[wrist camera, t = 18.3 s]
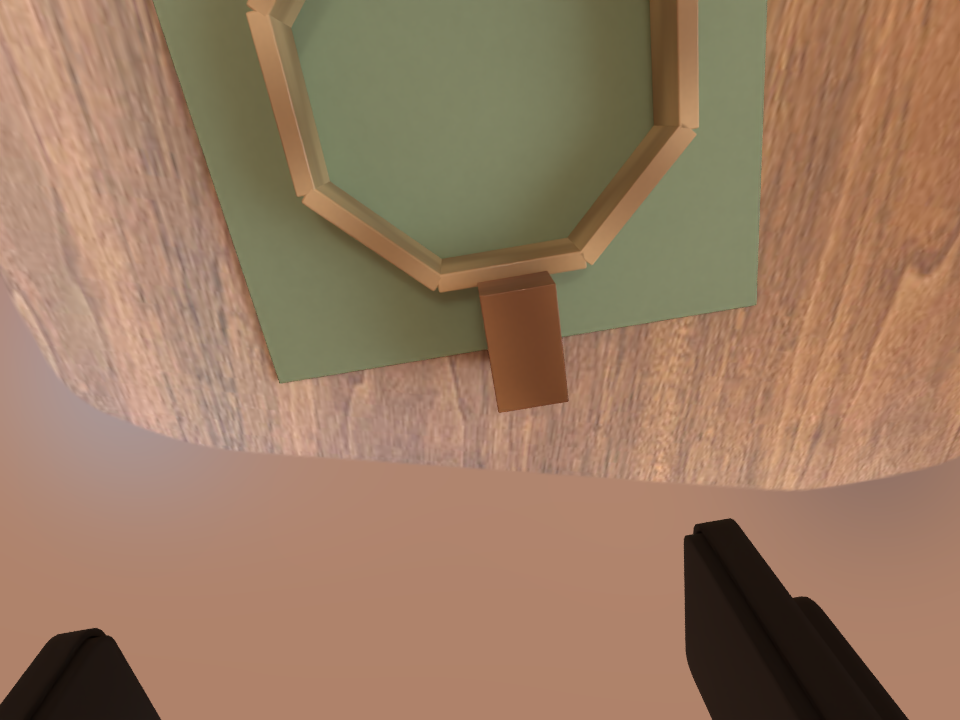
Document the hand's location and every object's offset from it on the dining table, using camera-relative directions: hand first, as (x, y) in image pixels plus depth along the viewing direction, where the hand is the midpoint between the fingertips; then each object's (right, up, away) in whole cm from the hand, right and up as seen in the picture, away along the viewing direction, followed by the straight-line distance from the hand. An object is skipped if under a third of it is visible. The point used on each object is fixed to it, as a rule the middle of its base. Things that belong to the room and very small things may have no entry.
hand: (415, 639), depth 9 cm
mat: (+1, +16, +14) cm, 22 cm away
